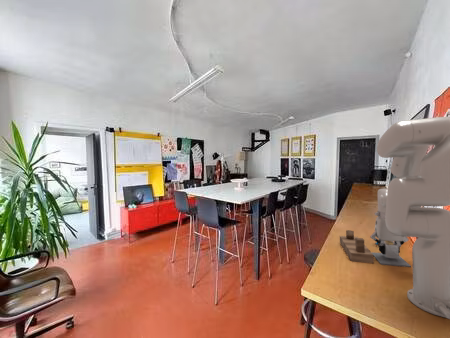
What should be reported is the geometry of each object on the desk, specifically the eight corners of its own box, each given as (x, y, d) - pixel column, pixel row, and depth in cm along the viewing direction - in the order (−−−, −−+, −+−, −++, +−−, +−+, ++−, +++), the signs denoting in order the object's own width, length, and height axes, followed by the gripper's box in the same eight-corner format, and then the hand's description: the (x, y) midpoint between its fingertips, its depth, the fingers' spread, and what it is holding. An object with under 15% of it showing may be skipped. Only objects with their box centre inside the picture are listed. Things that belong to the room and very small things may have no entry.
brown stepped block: (373, 263, 91) (372, 241, 91) (351, 261, 94) (350, 240, 93) (357, 243, 112) (357, 226, 112) (339, 242, 115) (339, 225, 114)
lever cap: (398, 258, 90) (398, 243, 89) (386, 257, 91) (385, 243, 91) (392, 252, 95) (391, 238, 95) (380, 251, 97) (380, 238, 97)
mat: (410, 267, 86) (410, 265, 86) (380, 264, 90) (380, 263, 90) (397, 255, 97) (397, 254, 97) (371, 253, 100) (371, 252, 100)
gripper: (369, 216, 92) (371, 255, 92) (415, 218, 86) (416, 259, 87) (364, 212, 99) (365, 248, 99) (406, 213, 93) (407, 251, 94)
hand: (389, 253), depth 93 cm, fingers closed on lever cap, 4 cm apart
